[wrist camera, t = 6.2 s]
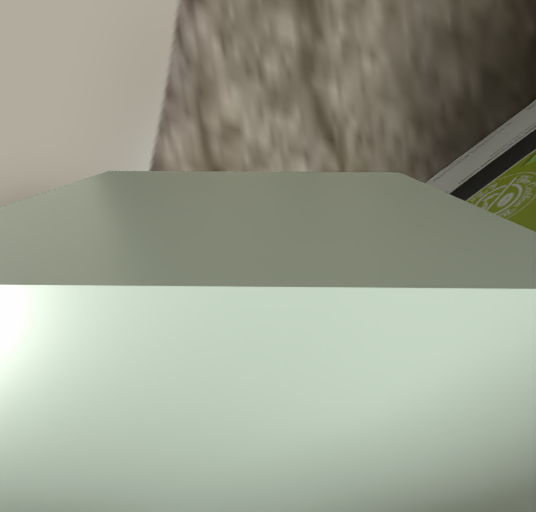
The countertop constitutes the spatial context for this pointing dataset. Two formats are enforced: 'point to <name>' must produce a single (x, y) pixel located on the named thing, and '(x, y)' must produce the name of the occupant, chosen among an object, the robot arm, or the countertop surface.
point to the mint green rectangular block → (265, 347)
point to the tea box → (498, 171)
